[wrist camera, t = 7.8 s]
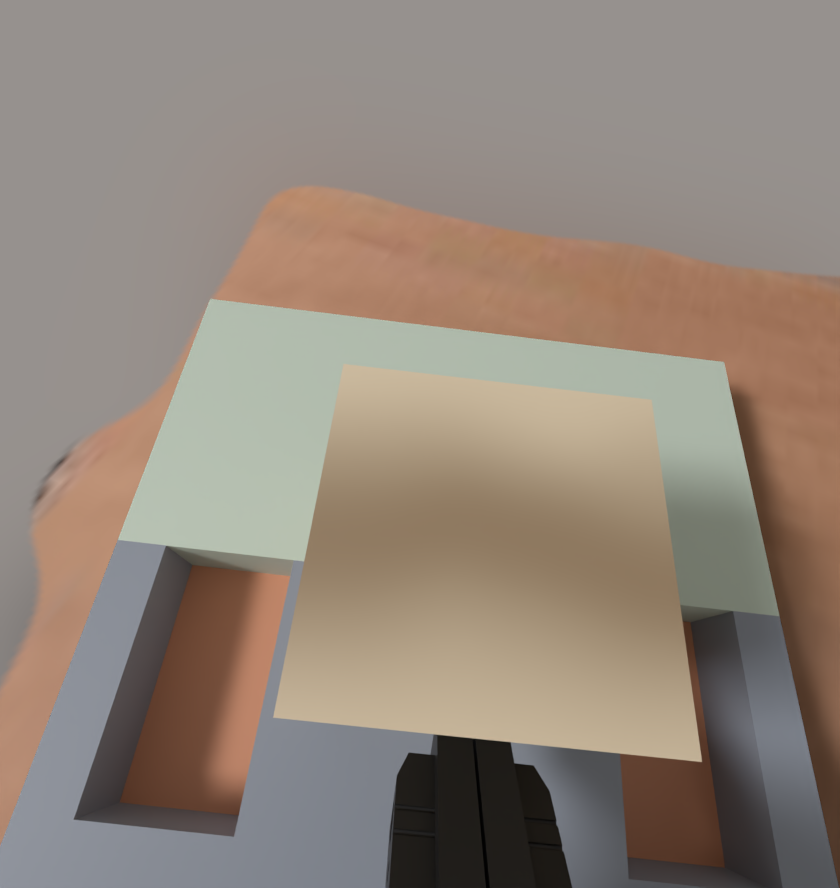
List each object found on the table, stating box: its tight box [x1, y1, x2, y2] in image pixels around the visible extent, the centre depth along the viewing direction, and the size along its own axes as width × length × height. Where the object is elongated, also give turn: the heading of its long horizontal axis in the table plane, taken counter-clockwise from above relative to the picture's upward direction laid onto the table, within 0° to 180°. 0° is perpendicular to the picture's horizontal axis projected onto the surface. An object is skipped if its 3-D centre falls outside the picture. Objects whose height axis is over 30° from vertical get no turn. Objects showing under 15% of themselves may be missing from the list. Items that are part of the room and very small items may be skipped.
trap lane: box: [0, 299, 839, 888], centre depth 16 cm, size 26×21×3 cm
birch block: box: [273, 364, 702, 762], centre depth 12 cm, size 6×6×8 cm
